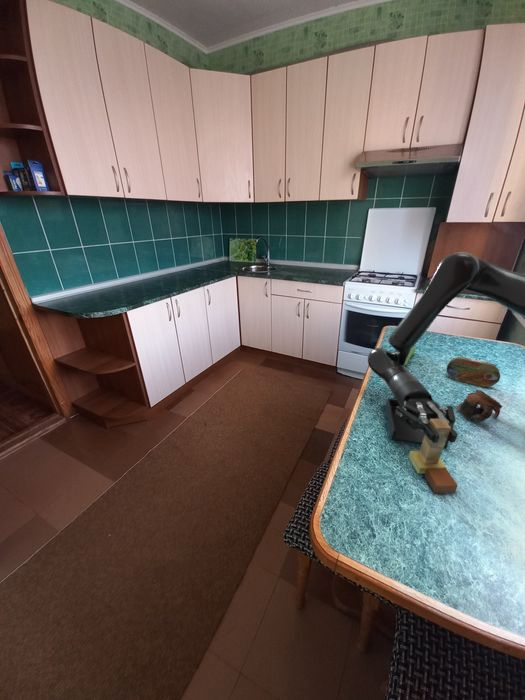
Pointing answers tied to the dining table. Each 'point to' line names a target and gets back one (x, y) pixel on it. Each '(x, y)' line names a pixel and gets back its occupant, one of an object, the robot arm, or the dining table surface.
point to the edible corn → (410, 355)
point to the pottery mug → (485, 404)
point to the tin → (473, 371)
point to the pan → (402, 426)
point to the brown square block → (441, 481)
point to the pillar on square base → (431, 449)
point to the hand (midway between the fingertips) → (445, 439)
